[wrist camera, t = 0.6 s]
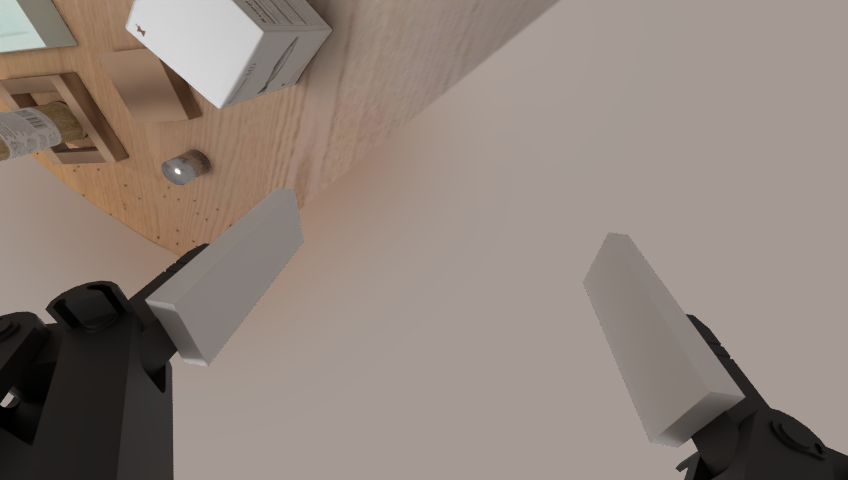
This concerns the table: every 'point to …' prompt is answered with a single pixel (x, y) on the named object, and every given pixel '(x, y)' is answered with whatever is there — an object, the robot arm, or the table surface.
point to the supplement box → (231, 43)
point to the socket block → (83, 109)
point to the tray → (31, 26)
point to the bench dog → (185, 167)
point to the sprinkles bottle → (37, 129)
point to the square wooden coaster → (149, 86)
